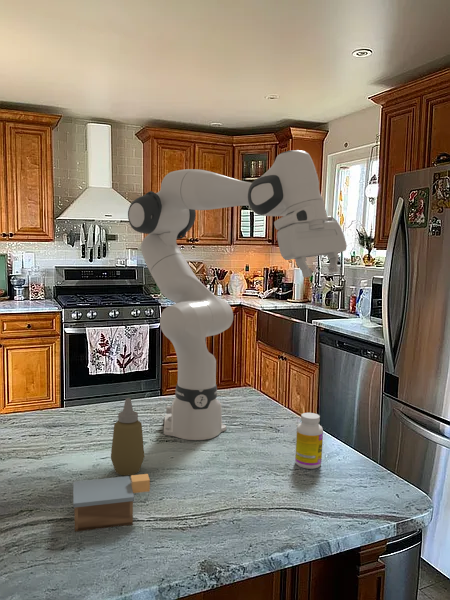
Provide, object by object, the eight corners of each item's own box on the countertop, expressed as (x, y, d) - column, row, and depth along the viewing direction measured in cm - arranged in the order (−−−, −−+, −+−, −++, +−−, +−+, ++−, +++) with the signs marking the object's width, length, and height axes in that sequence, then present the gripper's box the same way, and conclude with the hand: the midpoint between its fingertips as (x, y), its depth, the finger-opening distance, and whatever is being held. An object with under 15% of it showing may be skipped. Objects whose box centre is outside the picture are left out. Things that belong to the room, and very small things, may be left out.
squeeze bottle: (150, 467, 130) (151, 396, 128) (134, 480, 122) (135, 405, 120) (121, 461, 132) (121, 392, 130) (103, 474, 125) (104, 401, 123)
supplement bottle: (320, 471, 130) (323, 421, 129) (294, 468, 132) (296, 418, 130) (321, 460, 137) (324, 412, 135) (295, 457, 138) (298, 410, 137)
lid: (73, 488, 109) (73, 474, 108) (145, 481, 113) (145, 467, 112) (73, 511, 100) (73, 495, 99) (151, 502, 104) (152, 487, 103)
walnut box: (74, 508, 109) (74, 485, 108) (128, 502, 112) (128, 480, 111) (74, 531, 100) (74, 506, 100) (132, 524, 103) (133, 500, 103)
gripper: (325, 219, 132) (338, 272, 132) (268, 223, 119) (282, 282, 119) (345, 211, 128) (358, 267, 127) (288, 214, 114) (302, 276, 114)
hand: (321, 274), depth 123 cm, fingers open, 8 cm apart
